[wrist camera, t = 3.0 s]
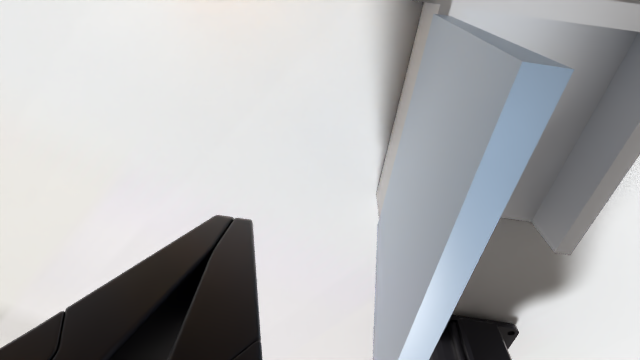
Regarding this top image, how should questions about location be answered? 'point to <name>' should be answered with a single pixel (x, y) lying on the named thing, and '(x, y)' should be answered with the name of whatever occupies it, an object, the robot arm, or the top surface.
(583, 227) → the grey tray
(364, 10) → the top surface
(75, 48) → the top surface
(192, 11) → the top surface
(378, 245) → the panel
